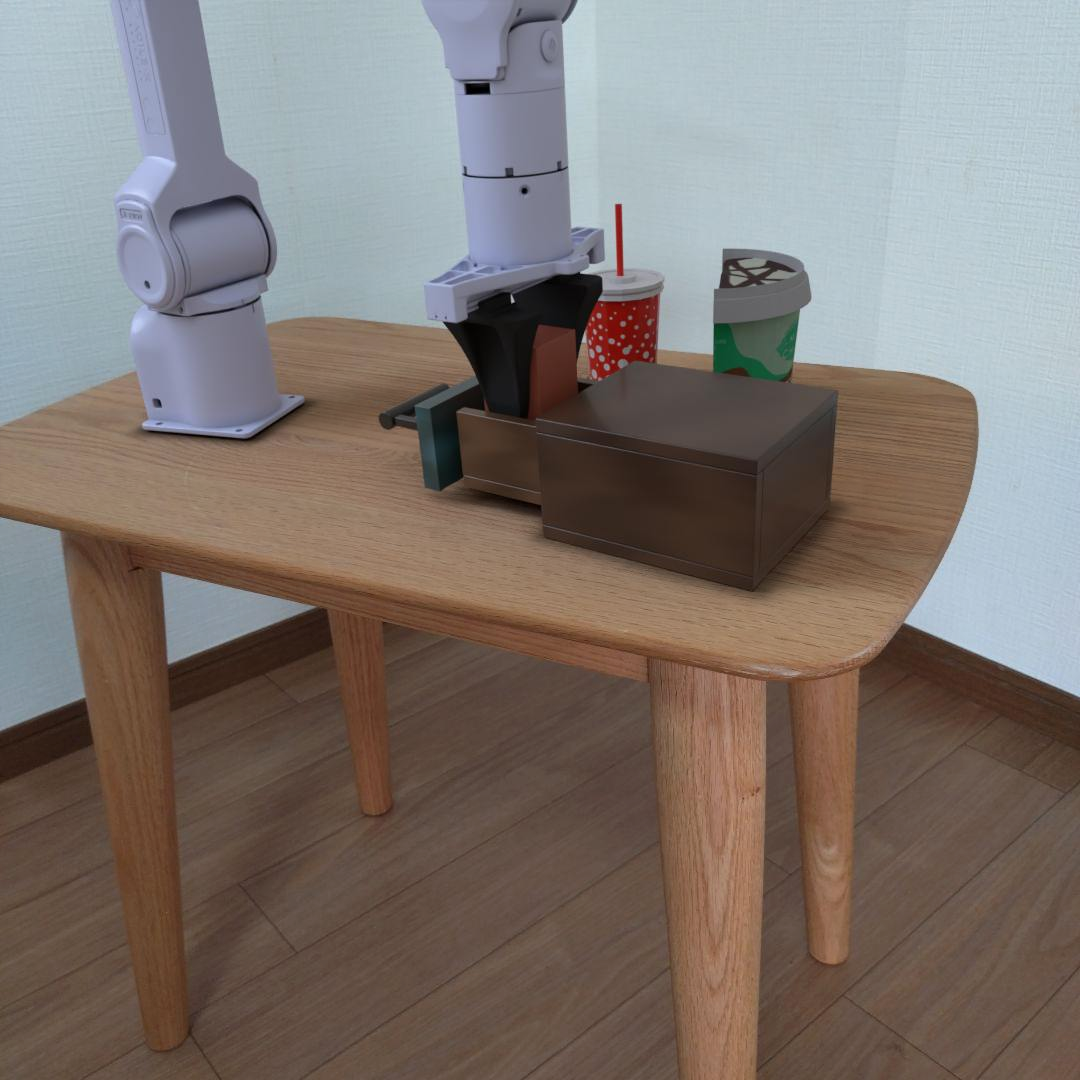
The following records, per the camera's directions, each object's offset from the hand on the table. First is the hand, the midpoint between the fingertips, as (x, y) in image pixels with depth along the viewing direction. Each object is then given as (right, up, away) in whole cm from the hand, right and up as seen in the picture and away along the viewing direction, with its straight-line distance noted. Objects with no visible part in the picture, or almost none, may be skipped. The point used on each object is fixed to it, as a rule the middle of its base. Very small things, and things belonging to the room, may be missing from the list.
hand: (531, 410), depth 62 cm
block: (0, -1, +1) cm, 1 cm away
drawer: (-1, -3, +3) cm, 5 cm away
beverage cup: (+7, +3, +15) cm, 17 cm away
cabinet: (+9, -7, -3) cm, 11 cm away
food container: (+16, +1, +12) cm, 20 cm away
